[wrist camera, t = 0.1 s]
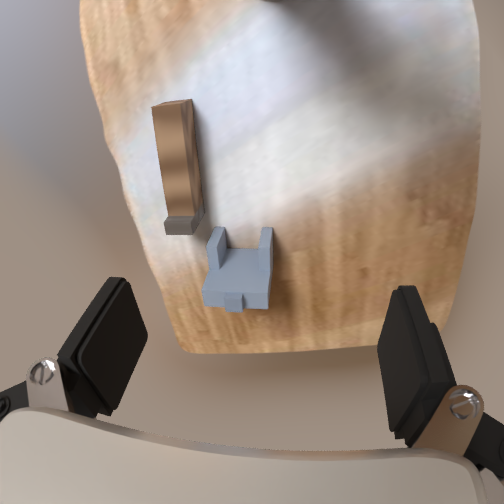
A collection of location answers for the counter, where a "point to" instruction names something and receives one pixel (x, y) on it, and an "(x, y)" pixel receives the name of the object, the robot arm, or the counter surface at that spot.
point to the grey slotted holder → (238, 273)
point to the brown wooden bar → (179, 165)
